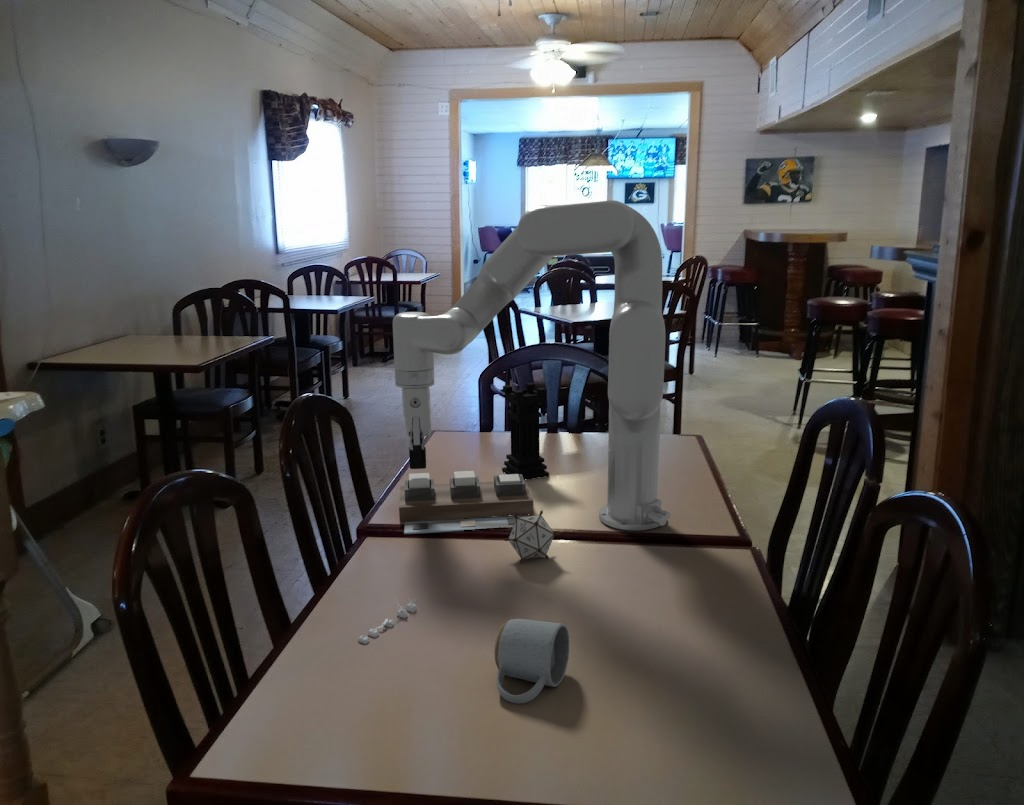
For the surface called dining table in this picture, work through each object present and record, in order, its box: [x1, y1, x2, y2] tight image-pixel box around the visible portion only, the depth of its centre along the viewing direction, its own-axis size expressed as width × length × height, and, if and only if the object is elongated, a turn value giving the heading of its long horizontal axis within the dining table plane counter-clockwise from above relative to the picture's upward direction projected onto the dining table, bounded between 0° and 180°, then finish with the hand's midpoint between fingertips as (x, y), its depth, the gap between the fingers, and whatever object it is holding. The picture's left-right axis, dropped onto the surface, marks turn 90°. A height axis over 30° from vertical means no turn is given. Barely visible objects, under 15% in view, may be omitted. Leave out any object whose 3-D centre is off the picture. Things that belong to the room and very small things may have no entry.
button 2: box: [499, 474, 520, 484], centre depth 162 cm, size 4×4×2 cm
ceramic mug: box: [494, 618, 570, 705], centre depth 102 cm, size 11×8×8 cm
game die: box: [503, 509, 560, 565], centre depth 138 cm, size 9×8×10 cm
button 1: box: [408, 472, 430, 489], centre depth 160 cm, size 4×4×2 cm
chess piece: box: [501, 382, 550, 480], centre depth 179 cm, size 8×8×20 cm
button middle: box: [453, 470, 476, 486], centre depth 161 cm, size 4×4×2 cm
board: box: [398, 474, 534, 535], centre depth 158 cm, size 18×26×5 cm
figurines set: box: [357, 597, 418, 645], centre depth 118 cm, size 12×3×3 cm, turn 148°
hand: (418, 467), depth 159 cm, fingers closed
